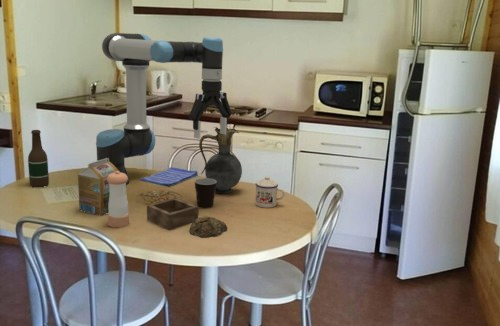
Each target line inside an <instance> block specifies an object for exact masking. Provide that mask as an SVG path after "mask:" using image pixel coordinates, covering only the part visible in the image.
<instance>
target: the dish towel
mask: <svg viewBox="0 0 500 326" xmlns="http://www.w3.org/2000/svg"><path fill="white" fill-rule="evenodd" d="M198 176H199V173H198V171H197V170H188V169H184V168H179V167H178V168H177V167H174V166H173V167H169V168H166V169H164V170H162V171H159V172H156V173H154V174H152V175H148V176H144V177H142V178H139V181H141V182H143V183H146V184H147V183H149V184H153V185H157V186H162V187H167V188H170V187H174V186H176V185H178V184H180V183H183V182H185V181H188V180H190V179H194V178H196V177H198Z"/></svg>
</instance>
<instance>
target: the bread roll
mask: <svg viewBox="0 0 500 326" xmlns="http://www.w3.org/2000/svg"><path fill="white" fill-rule="evenodd" d="M227 231H228V226H227V224H226V223H225V222H224V221H223V220H220V219H217V218H215V217H212V216H198V218H197V219H196V220H195V221H194V222H193V223H191V224H190V227H189V233H190V234H191V235H196V236H199V237H200V238H202V239H207V238H208V239H209V238H211V237H212V238H213V237H214V238H215V237H219V236H221V235H222V234H223V233H226V232H227Z"/></svg>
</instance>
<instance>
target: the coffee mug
mask: <svg viewBox="0 0 500 326" xmlns="http://www.w3.org/2000/svg"><path fill="white" fill-rule="evenodd" d="M216 183H217V181H216V180H214V179H209V178H206V177H205V178H204V177H202V178H201V177H200V178H198V179H195V180H194V189H195V196H196V198H195V199H196V200H195V201H196V206H198V208H199V209H200V208H201V209H210V208H213V207H214V203H215V196H216V192H215V190H216Z"/></svg>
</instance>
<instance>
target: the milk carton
mask: <svg viewBox="0 0 500 326" xmlns="http://www.w3.org/2000/svg"><path fill="white" fill-rule="evenodd" d="M115 171H118V169H117V168H116V167H115V166H114V165H113V164H112V163H110V162H109V158H106V159H102V160H98V161H97V160H96V161H92V162H88V163H87V167H86V168H83V169H82V170H80V171H79V173H77V181H78V183H77V184H78V185H77V186H78V205H79V206H78V207H79V211H80V210H82V211H81V212H84V211H85V213H87V212H89V213H88V214H91V213H93V214H92V215H95V214H97V215H96V216H99V215H100V216H101V217H102V216H105V215H107V214H109V209H108V204H109V196H110V186H109V184H110V183H108V181H107V177H108V175H109V174H111V173H115ZM106 213H107V214H106ZM104 214H105V215H104ZM100 216H99V217H100Z"/></svg>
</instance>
